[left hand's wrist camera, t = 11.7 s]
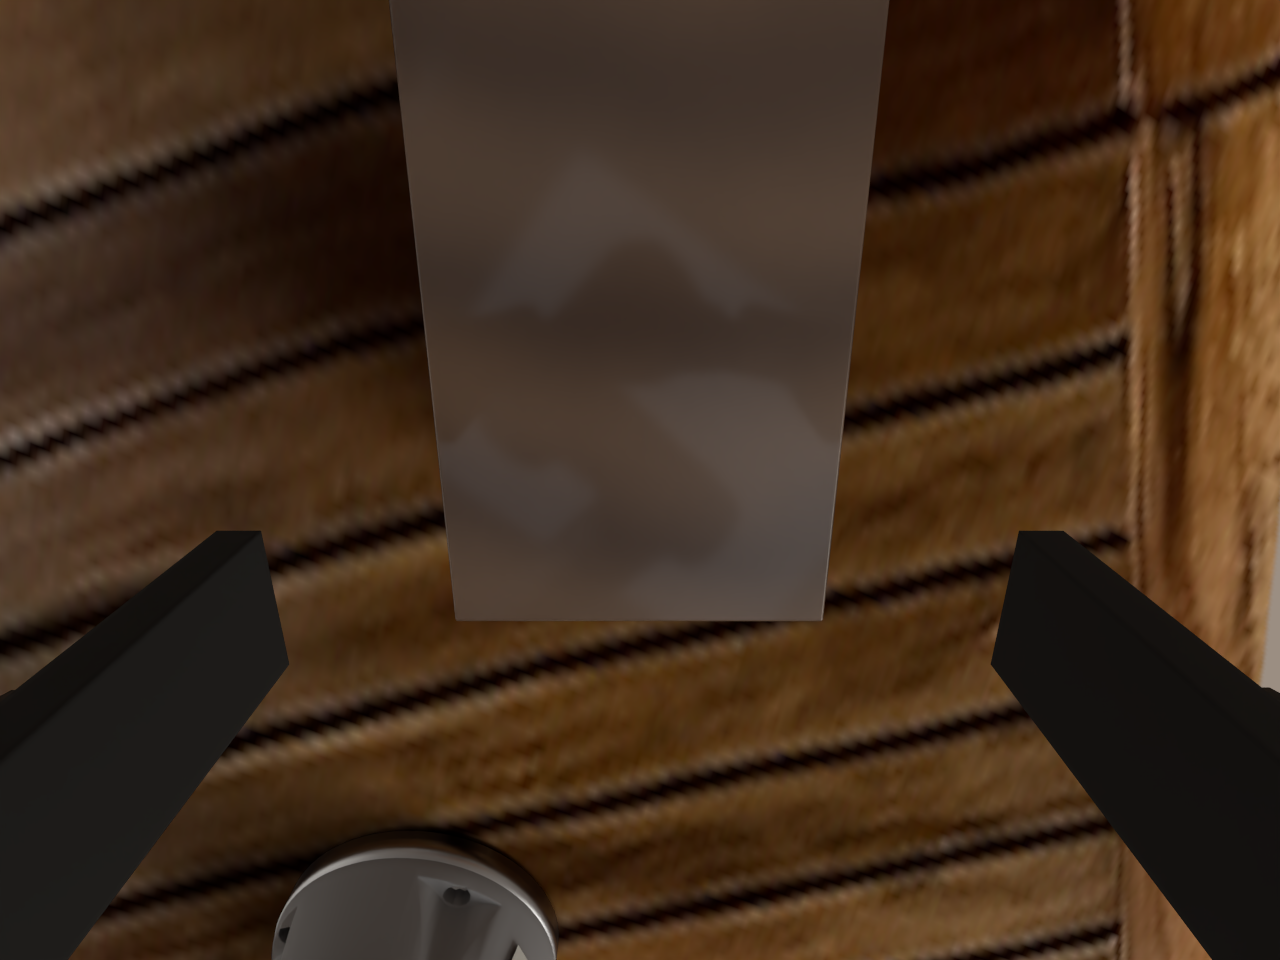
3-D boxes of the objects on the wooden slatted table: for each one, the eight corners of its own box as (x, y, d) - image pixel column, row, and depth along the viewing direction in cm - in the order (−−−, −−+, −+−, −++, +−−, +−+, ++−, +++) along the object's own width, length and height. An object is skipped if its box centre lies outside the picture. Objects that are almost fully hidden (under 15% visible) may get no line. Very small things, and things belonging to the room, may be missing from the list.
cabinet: (488, -2, 25) (371, -155, 14) (790, -2, 25) (906, -155, 14) (519, 474, 31) (454, 622, 20) (759, 474, 31) (823, 621, 20)
